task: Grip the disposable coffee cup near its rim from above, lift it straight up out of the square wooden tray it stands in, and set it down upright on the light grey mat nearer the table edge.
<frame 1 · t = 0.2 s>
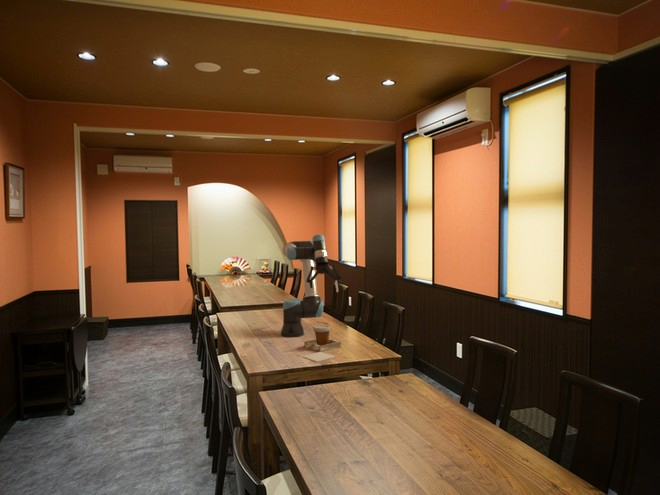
hand: (325, 292, 264), 34 cm above the table, tool tilted 35°, fingers open, 13 cm apart
square wooden tray: (322, 346, 278), on the table
disposable coffee cup: (322, 347, 278), resting in square wooden tray
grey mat: (319, 357, 257), on the table
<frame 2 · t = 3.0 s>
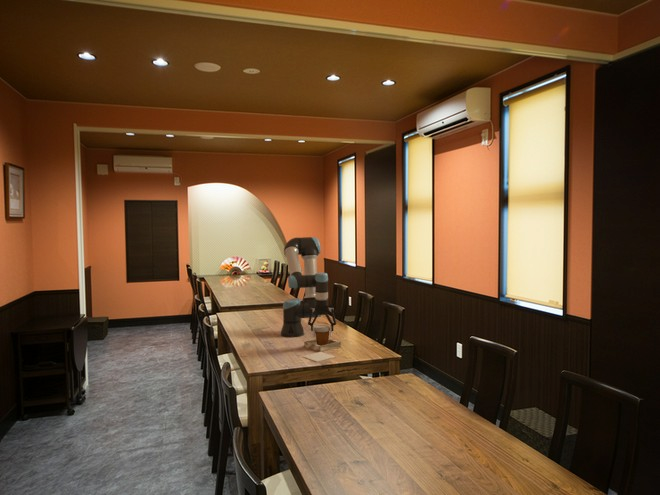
hand: (322, 336, 278), 6 cm above the table, tool pointing down, fingers closed on disposable coffee cup, 9 cm apart
disposable coffee cup: (322, 347, 278), resting in square wooden tray, touching gripper
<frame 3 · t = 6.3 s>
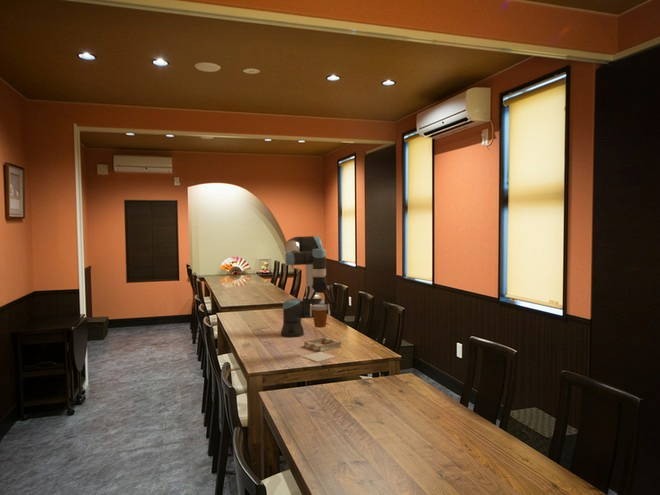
hand: (320, 315, 264), 21 cm above the table, tool pointing down, fingers closed on disposable coffee cup, 9 cm apart
disposable coffee cup: (320, 326, 264), point 15 cm above the table, touching gripper
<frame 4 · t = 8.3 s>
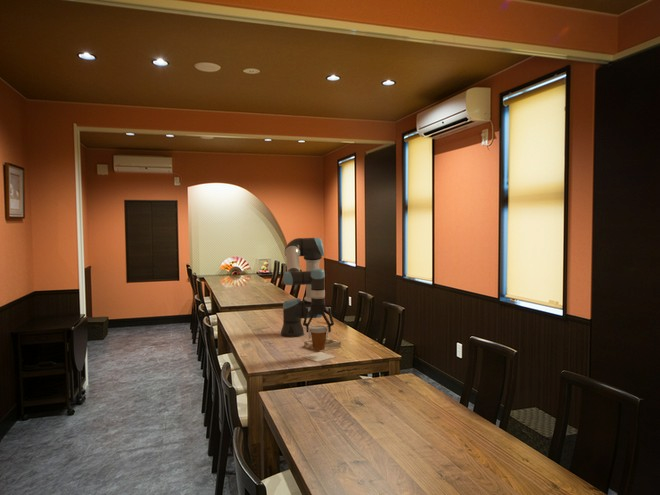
hand: (318, 338, 256), 11 cm above the table, tool pointing down, fingers closed on disposable coffee cup, 9 cm apart
disposable coffee cup: (318, 349, 257), point 4 cm above the table, touching gripper
when the fingers open (7 cm above the table, at t = 9.8 s): disposable coffee cup stays where it is, resting on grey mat.
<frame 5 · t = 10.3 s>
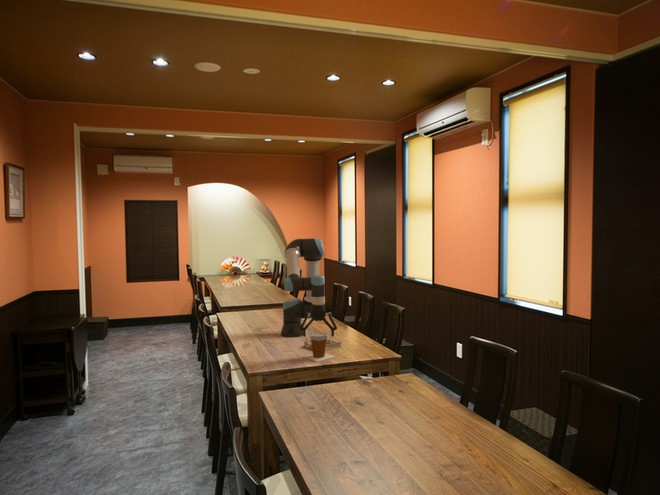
hand: (318, 342, 256), 8 cm above the table, tool pointing down, fingers open, 13 cm apart
disposable coffee cup: (318, 356, 257), resting on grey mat
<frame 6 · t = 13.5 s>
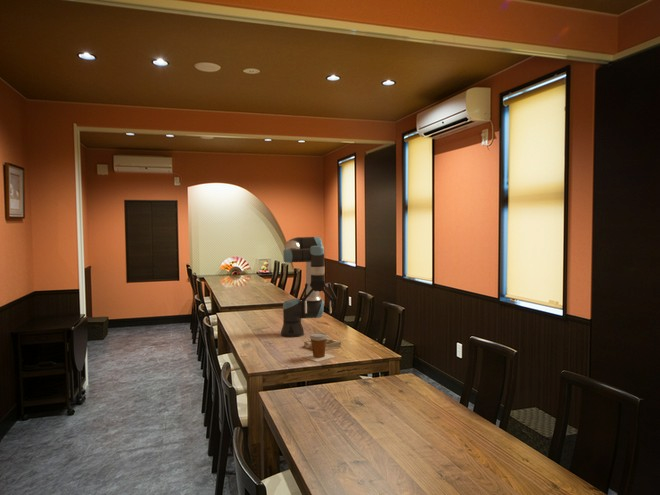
hand: (318, 313, 256), 24 cm above the table, tool pointing down, fingers open, 13 cm apart
nothing on the table moved.
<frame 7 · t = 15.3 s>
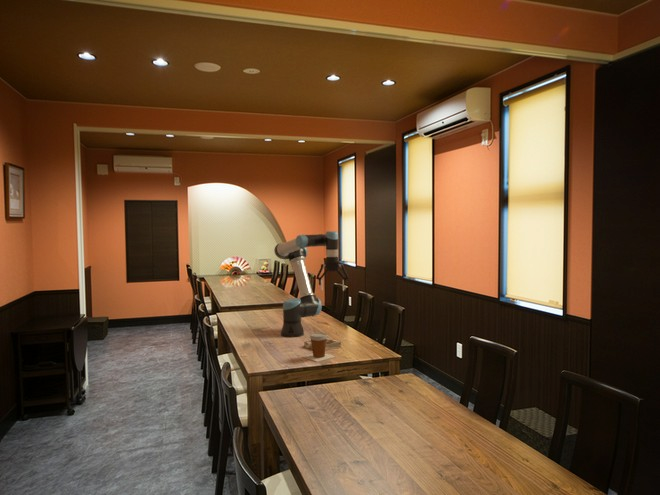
hand: (332, 290, 290), 31 cm above the table, tool pointing down, fingers open, 13 cm apart
nothing on the table moved.
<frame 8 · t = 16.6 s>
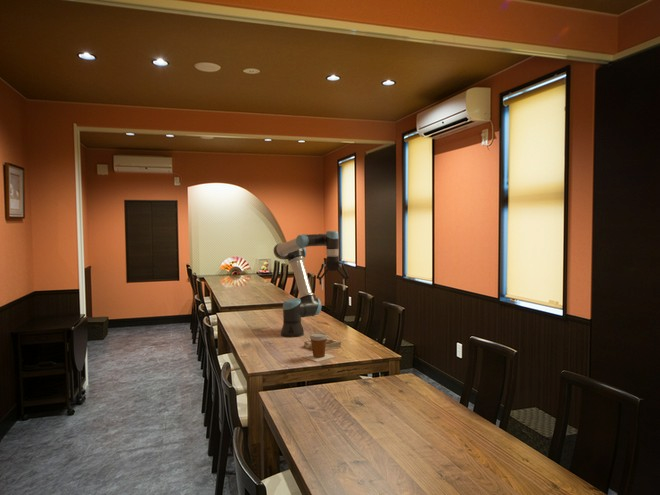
hand: (333, 289, 291), 32 cm above the table, tool pointing down, fingers open, 13 cm apart
nothing on the table moved.
at the end: disposable coffee cup inside the target area on the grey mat (0.1 cm from its centre), point 0.2 cm above the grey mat's base; disposable coffee cup tilted 0°; the gripper is holding nothing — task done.
